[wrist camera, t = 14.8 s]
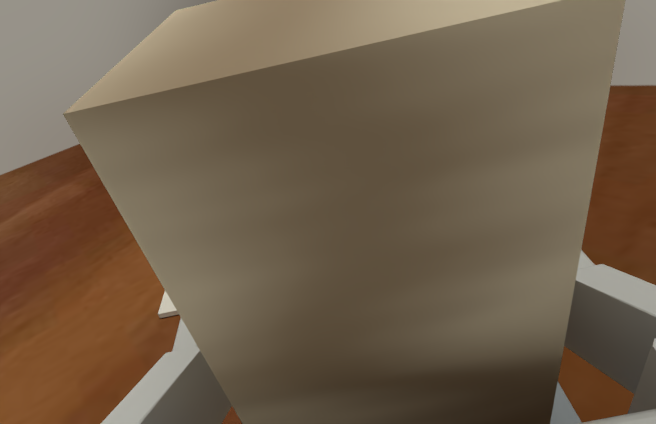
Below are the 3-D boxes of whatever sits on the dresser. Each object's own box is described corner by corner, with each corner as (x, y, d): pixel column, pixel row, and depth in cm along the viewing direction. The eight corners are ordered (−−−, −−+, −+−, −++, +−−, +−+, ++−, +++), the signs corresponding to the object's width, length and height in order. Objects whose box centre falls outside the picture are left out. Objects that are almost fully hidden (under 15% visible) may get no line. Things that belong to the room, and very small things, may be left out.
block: (460, 358, 15) (445, -54, 8) (530, 532, 10) (628, -15, 4) (314, 386, 15) (175, 10, 8) (326, 569, 11) (62, 114, 4)
